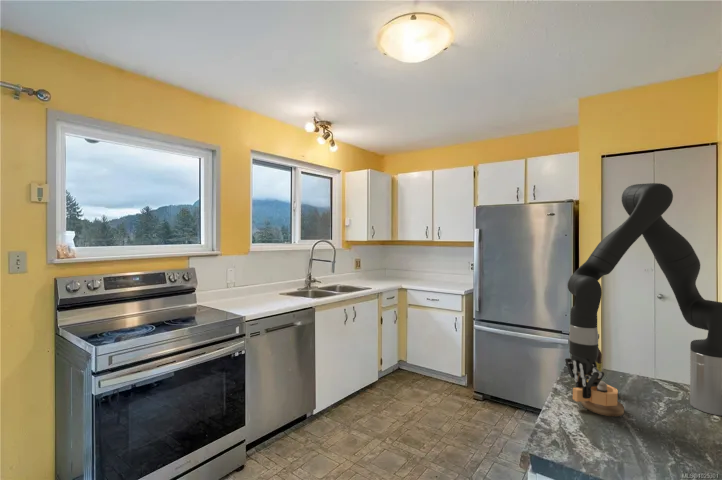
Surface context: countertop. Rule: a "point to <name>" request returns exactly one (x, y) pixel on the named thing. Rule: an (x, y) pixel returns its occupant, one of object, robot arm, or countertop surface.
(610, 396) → the ring
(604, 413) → the round wooden base
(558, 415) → the countertop surface
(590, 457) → the countertop surface
